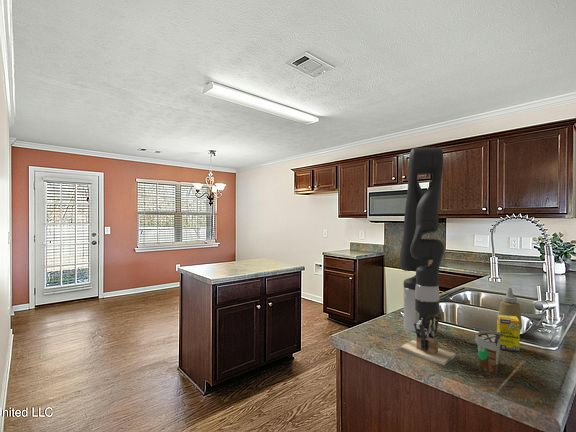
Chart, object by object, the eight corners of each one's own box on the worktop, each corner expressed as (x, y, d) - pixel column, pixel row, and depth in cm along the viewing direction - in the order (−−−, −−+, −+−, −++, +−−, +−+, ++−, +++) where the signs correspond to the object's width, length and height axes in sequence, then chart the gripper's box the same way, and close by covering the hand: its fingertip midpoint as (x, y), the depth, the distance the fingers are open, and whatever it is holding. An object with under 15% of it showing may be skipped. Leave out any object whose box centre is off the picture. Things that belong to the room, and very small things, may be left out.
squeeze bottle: (495, 333, 126) (495, 288, 125) (500, 327, 131) (500, 284, 131) (520, 338, 120) (520, 291, 120) (523, 332, 126) (524, 287, 126)
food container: (478, 357, 104) (478, 327, 104) (500, 362, 101) (500, 331, 100) (471, 371, 95) (471, 338, 95) (495, 378, 91) (495, 344, 91)
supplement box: (499, 349, 110) (499, 318, 110) (496, 343, 116) (496, 313, 116) (520, 352, 108) (520, 321, 108) (516, 346, 113) (516, 316, 113)
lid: (412, 342, 115) (412, 329, 115) (455, 356, 104) (455, 341, 104) (399, 349, 109) (399, 335, 109) (444, 365, 98) (444, 349, 98)
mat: (411, 342, 117) (411, 341, 117) (460, 358, 104) (460, 356, 104) (395, 350, 110) (395, 349, 110) (446, 369, 97) (446, 367, 97)
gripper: (425, 292, 114) (426, 339, 114) (406, 299, 105) (406, 350, 105) (447, 296, 108) (447, 346, 108) (428, 304, 99) (428, 358, 99)
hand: (427, 348), depth 107 cm, fingers closed on lid, 3 cm apart
